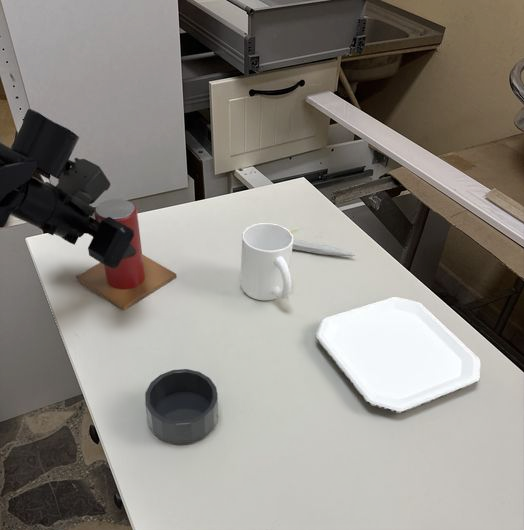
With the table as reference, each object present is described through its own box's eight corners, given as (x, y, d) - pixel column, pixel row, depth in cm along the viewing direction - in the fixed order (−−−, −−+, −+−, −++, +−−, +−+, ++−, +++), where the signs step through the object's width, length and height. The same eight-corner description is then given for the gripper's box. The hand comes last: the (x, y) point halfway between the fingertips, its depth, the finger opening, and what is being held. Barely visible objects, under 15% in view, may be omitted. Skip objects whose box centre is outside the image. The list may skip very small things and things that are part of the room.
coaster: (124, 310, 85) (123, 307, 84) (76, 279, 90) (75, 276, 89) (176, 277, 92) (176, 273, 91) (129, 250, 97) (129, 246, 96)
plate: (406, 300, 91) (409, 290, 90) (490, 382, 79) (496, 372, 77) (304, 332, 84) (305, 322, 83) (379, 428, 71) (382, 418, 70)
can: (128, 294, 87) (117, 224, 77) (98, 280, 89) (84, 211, 79) (152, 274, 91) (145, 205, 81) (123, 262, 93) (112, 193, 83)
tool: (354, 257, 100) (356, 248, 98) (353, 262, 99) (355, 253, 97) (266, 241, 102) (267, 232, 100) (264, 245, 101) (265, 236, 99)
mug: (306, 308, 88) (315, 257, 81) (263, 321, 85) (267, 269, 78) (273, 268, 96) (278, 218, 88) (232, 279, 93) (233, 228, 85)
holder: (148, 448, 67) (145, 427, 64) (148, 393, 73) (145, 371, 70) (220, 441, 68) (220, 420, 65) (213, 388, 75) (213, 366, 72)
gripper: (114, 174, 66) (180, 218, 80) (24, 129, 73) (100, 176, 87) (74, 253, 67) (146, 282, 81) (-10, 200, 74) (70, 236, 88)
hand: (115, 241), depth 84 cm, fingers open, 9 cm apart
